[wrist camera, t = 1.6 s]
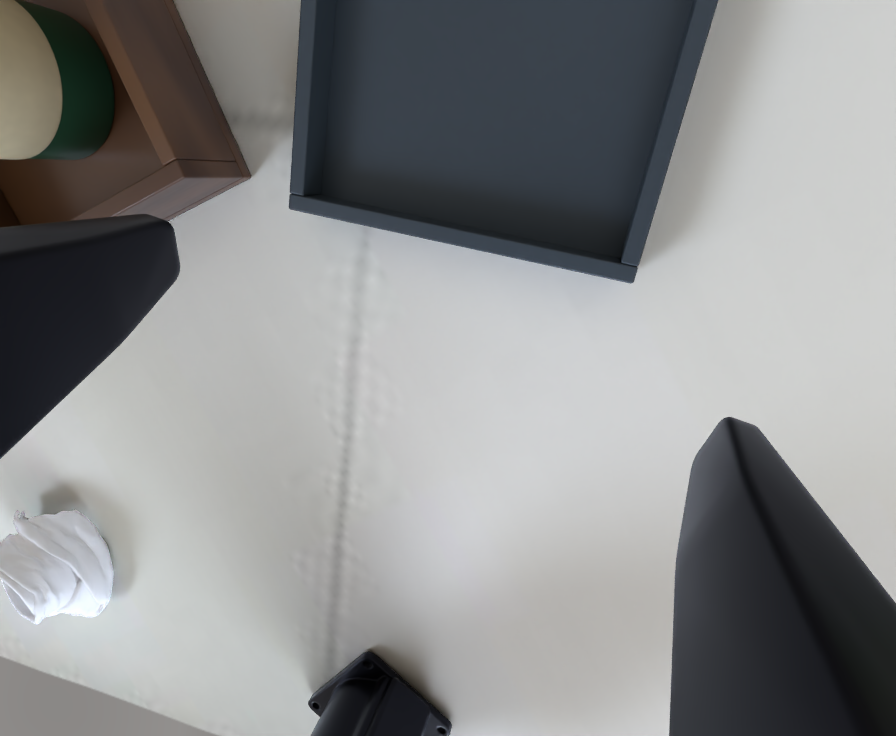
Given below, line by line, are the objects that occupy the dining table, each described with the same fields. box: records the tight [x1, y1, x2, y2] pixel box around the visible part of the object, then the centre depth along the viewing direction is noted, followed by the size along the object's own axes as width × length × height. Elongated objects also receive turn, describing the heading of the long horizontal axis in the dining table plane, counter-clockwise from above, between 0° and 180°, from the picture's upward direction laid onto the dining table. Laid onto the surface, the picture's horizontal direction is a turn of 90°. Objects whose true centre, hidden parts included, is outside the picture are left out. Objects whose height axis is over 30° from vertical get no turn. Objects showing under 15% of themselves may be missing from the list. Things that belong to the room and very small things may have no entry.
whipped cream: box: [0, 509, 114, 624], centre depth 33 cm, size 8×7×5 cm
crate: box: [0, 0, 251, 227], centre depth 23 cm, size 13×13×4 cm
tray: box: [289, 0, 718, 283], centre depth 18 cm, size 15×13×2 cm
